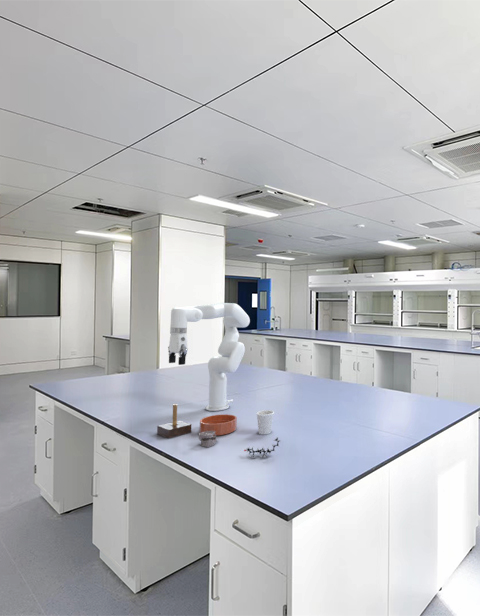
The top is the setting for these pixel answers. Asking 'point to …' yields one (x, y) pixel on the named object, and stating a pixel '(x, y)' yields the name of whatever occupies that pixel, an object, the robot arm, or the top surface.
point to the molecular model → (262, 449)
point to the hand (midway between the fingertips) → (176, 363)
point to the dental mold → (207, 438)
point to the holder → (174, 429)
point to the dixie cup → (265, 421)
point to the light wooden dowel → (174, 415)
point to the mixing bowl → (219, 424)
